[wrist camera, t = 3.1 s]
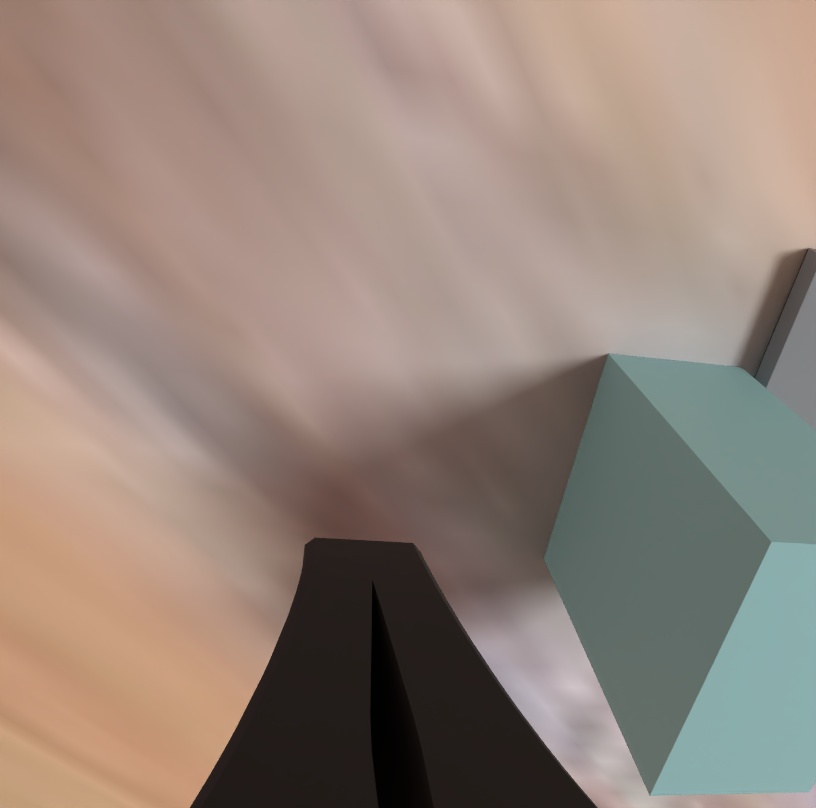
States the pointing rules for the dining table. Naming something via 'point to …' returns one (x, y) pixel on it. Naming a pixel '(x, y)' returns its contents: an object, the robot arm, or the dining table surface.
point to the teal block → (696, 574)
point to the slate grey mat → (795, 347)
